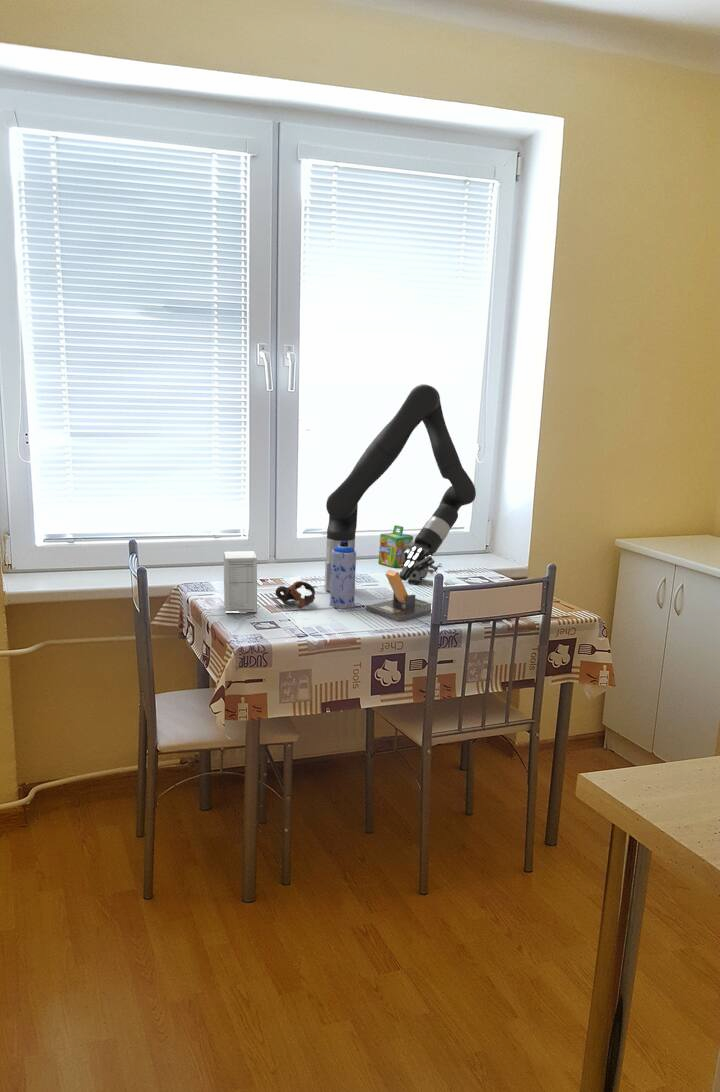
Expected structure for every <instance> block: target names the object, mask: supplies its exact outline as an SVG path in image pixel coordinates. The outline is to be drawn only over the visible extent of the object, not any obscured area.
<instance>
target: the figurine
mask: <svg viewBox="0 0 720 1092" xmlns="http://www.w3.org/2000/svg"><path fill="white" fill-rule="evenodd" d="M414 543H415V539H413V540H410V541H409V542H408V547H409V548H410V547H411V546H412V545H413V544H414ZM421 566H422V565H421ZM439 568H443V567H442V565H441V563H439V564H438V565H437V566H435V565H434V564H432V565H430V566H428V567H426V568H425V569H423V570H421V571H419V572H418V571H415V572H412V574H411V575H410V577H409V578H408V579H407V583H408V584H409V583H410V584H411V583H413V584H415V585H418V584H419V585H420V584H421V583H422V582H421V579H420V578H424V579H425V578H426V577H427V576H428V574H429V573H430V574H433V573H434V572H435V573H436V574H438V571H437V570H439Z"/></svg>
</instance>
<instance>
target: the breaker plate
mask: <svg viewBox="0 0 720 1092" xmlns="http://www.w3.org/2000/svg"><path fill="white" fill-rule="evenodd" d="M416 596H417V595H416V594H413V593H412V594H408V596H406V605H405V604H402V603H399V602H398V601H397V598H396V596H395V594H394V593H393V597H392V600H386V601H381V602H377V603H372V604H367V605H366V607H365V610H366V611H367V612H370V613H372V614H376V615H377V616H381V617H384V618H387V619H390V620H392V619H393V621H395V620H396V621H395V622H398V621H400V622H403V620H404V621H407V620H412V619H416V618H420V617H424V616H430V615H431V614H430V613H431V604H432V603H430V602H427V601H423V600H420V599H418V598H417V597H416Z"/></svg>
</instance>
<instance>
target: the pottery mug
mask: <svg viewBox="0 0 720 1092" xmlns="http://www.w3.org/2000/svg"><path fill="white" fill-rule="evenodd" d="M302 586H303V587H304V588H305V590H307V591H310V592H311V594H310V595H304V597H302V593H300V592H299V591H298V589H300V588H302ZM282 593H283V594H282ZM275 595H276V597H277V599H279V600H281V601H282V603H283V604H286V602H288V601H291V600H293V601H298V604H297V605H296V607H297V608H298V609H300V610H302V609H303V608H305V607H306V606H309V605H310V604H312V603H314V601H315V597H316V596H315V595H316V589H315V588H314V586H312V585H311V584H310V583H308V582H306V581H302V580H301V581H300V580H299V581H295V582H293V584H291V585H290V586H287V587H286V586H284V585H281V586H278V587H277V588H276V589H275Z"/></svg>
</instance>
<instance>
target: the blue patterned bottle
mask: <svg viewBox="0 0 720 1092" xmlns="http://www.w3.org/2000/svg"><path fill="white" fill-rule="evenodd" d="M356 552H357V551H356V549H355V550H354V549H353V547H351V546H350V545H348V541H341V543H340V545H338V546H336V547H335V548H334V549H333V550H332V556H331V589H330V591H329V593H330V594H329V596H330V597H329V606H331V607H332V608H337V609H351V608H354V607H355V606H356V603H355V594H356V591H355V590H356V566H357V565H356V564H357V562H356V561H357V553H356Z"/></svg>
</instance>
